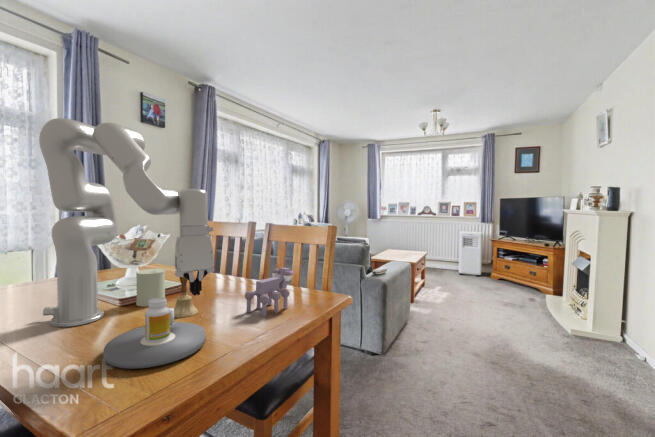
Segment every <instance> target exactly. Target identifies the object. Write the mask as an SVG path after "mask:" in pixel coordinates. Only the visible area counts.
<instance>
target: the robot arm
mask: <svg viewBox="0 0 655 437" xmlns="http://www.w3.org/2000/svg"><path fill="white" fill-rule="evenodd" d="M38 138H39V140H38V143H39V148H40V151H41V155H42V157H43V159H44V162H45V163H44V164H45V165H46V169H47V175H48V181H49V186H50V193H51V198H52V202H53V205H54V206H55V208H56V209H57V210H59V211H62V212H65V213H85V214H86V215H79V216H78V215H76V216H73V215H72V216H67V217H64V218H61V219H59V220H57V222H54V225H53V226H52V229H51V238H52V242H53V245H54V246H53V247H54V251H55V258H56V275H57V276H56V283H57V284H56V285H57V286H56V289H57V291H56V292H57V294H56V295H57V300H56V301H57V305H56V306H55V307H54V306H49V307H44V308H43V310H42V315H43V316H52V318H51V319H50V325H51V326H53V327H57V328H58V327H59V328H60V327H61V328H69V327H77V326H81V325H85V324H89V323H93V322H95V321H98V320H100V319H101V318H103V317H104V315H105V312H104V310H102V309H100V308H99V306H98V305H99V303H98V300H99V297H98V291H99V290H98V259H97V256H96V254H95V252H94V250H93V249H92V246H100V245H105V244H108V243H110V242H112V241H114V240H115V238H116V237H117V234H118V223H117V222H118V221H117V217H116V211H115V205H114V199H113V196H112V194H111V192H110V191H109V189H108V188H107V186H105V185H102V184H101V183H96V182H88V181H87V177H86V175H85V174H86V173H85V167H84V165H83V163H82V161H81V160H80V158H79V156H77V155H76V153H75V152H74V151H80V152H82V153H83V152H84V153H89V154H94V155H98V156H99V155H100V156H106V157H108V158H109V160H111V163H113V164H114V165H115V166H116V167H117V168H118V170H119V171H120V172H121V173H122V181H123V186H124V188H125V191H126V193H127V195H128V196H129V197H131V199H132V200H133V201H134V202H135V204H136V205H138V207H139V208H140V209H142V210H143V211H144V212H145V213H146V214H147V213H148V214H150V215H154V216H161V215H179V236H176V242H175V248H174V251H175V252H174V268H175V271H174V276H176V277H178V278H180V277H185V278H186V279H188V280H187V281H189V282H188V283H189V292H190V293H191V295H193V297H194V296H199V295H200V294H201V291H202V290H203V287H202V284H203V283H202V281H203V280H204V278H205V277H206V276H207V275H209V274H212V273H214V272H215V271H216V269H215V254H214V246H213V240H212V237H211V235H209V234H210V233H211V232H214V226H209V214H208V213H209V212H208V209H209V207H208V206H209V205H208V204H209V202H208V192H207V191H206V190H205V189H201V188H184V189H177V188H176V189H175V188H167V187H166V188H165V187H159V186H158V185H157V184H156V183H155V182H154V181H153V180H152V179H151V178H150V177H149V176H148V174H147V170H148V169H150V166H151V164H152V159H151V157H150V156H149V155H148V154H147V153H146V152H145V151H144V150H145V147H146V143H145V139H144V138H143V136H142V134H141V133H139V132H138V131H137V130H135V129H132V128H129V127H126V126H123V125H121V124H117V123H114V122H102V123H100V124H97V125H96V126H95V125H91V124H88V123H85V122H81V121H79V120H75V119H72V118H71V119H70V118H63V117H62V118H61V117H60V118H59V117H57V118H52V119H50V120H48V121H47V122H46V123H44V125H43V126H42V128H41V130H40V132H39V136H38ZM186 272H187V273H186ZM194 272H196V277H195V275H194Z"/></svg>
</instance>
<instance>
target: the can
mask: <svg viewBox="0 0 655 437" xmlns="http://www.w3.org/2000/svg"><path fill="white" fill-rule="evenodd" d="M165 287H166V270H165V269H164V268H148V269H147V268H146V269H145V268H144V269H140V270H138V271H136V301H135V302H136V303H135V305H136V306H137V307H142V308H144V307H149V306H148V301H149V300H151V299H154V298H166V288H165Z"/></svg>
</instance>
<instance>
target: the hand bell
mask: <svg viewBox="0 0 655 437" xmlns="http://www.w3.org/2000/svg"><path fill="white" fill-rule="evenodd" d="M186 273H187V272H186ZM179 281H180V285H181V287H180V288H181V290H180V291H181V295H180V296H178V297H177V298H176V304H175V306H174V319H176V318H177V319H183V318H189V317H190V318H191V317H192V316H195V315H197V314H198V312H199V310H198V309H197V308H196V307H195V306H194V304H193V299H192V298H193V297H192V295H189V294H188V287H187V284H188V281H189V280H188V279H186V278H185V277H179Z"/></svg>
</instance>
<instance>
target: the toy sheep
mask: <svg viewBox="0 0 655 437" xmlns="http://www.w3.org/2000/svg"><path fill="white" fill-rule="evenodd" d="M294 272H295V271H294V270H292V268H290V267H279V268H274V269H273V270H272V274H271V275H272V277H268V278H263V279H259V280H256V281H255V291H251V290H247V291H246V292H245V294H244V298H245V300H246V313H251V311H252V310H251V309H252V308H251V307H252V299H254V297H256V309H258V310H260V309H261V311H262V312H261V313H262V314H261V315H262V317H263V318H265V317H267V306H272V305H273V304H274V305H273V307H274V308H273V309H274V311H273V312H274V313H276V314H277V313H279V300H280V299H281V297H282V298H283V309H284V310H287V309H288V304H289V303H288V298H289V297H290V294H291V292H290V290H289V289H288V282H289V281H291V280H292V277H293V275H294ZM272 302H274V303H273V304H272Z"/></svg>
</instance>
